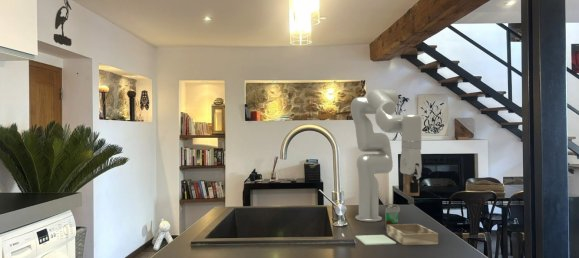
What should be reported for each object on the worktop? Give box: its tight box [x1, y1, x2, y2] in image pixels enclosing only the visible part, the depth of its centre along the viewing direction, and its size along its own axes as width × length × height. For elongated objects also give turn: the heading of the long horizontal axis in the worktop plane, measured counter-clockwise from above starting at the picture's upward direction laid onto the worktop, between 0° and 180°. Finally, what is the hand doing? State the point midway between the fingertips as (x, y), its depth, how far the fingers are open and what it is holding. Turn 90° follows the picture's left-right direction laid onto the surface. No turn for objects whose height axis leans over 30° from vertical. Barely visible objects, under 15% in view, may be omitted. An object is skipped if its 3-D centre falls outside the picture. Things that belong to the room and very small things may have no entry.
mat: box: [355, 234, 397, 246], centre depth 157 cm, size 12×12×1 cm
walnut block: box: [402, 173, 420, 197], centre depth 160 cm, size 4×4×8 cm
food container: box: [384, 203, 401, 232], centre depth 177 cm, size 12×6×10 cm, turn 168°
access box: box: [386, 223, 439, 246], centre depth 160 cm, size 17×14×4 cm
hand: (411, 191), depth 160 cm, fingers closed on walnut block, 4 cm apart
